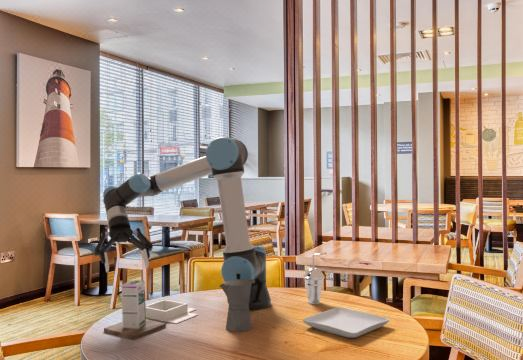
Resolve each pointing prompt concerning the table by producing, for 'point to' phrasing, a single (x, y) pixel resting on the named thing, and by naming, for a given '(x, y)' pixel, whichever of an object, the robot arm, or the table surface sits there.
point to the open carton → (169, 311)
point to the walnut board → (135, 333)
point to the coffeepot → (240, 302)
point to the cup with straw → (314, 283)
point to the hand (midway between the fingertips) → (128, 268)
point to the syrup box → (133, 304)
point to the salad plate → (345, 322)
